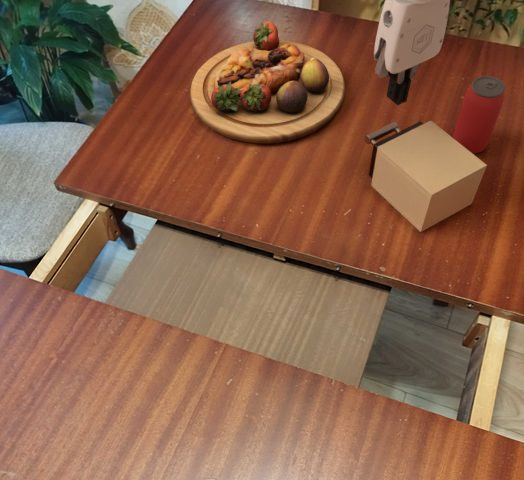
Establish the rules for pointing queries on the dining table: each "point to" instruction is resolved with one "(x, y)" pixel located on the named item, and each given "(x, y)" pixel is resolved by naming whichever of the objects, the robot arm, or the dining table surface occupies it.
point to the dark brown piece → (381, 133)
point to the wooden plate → (267, 89)
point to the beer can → (479, 113)
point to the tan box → (426, 175)
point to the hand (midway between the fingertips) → (396, 99)
